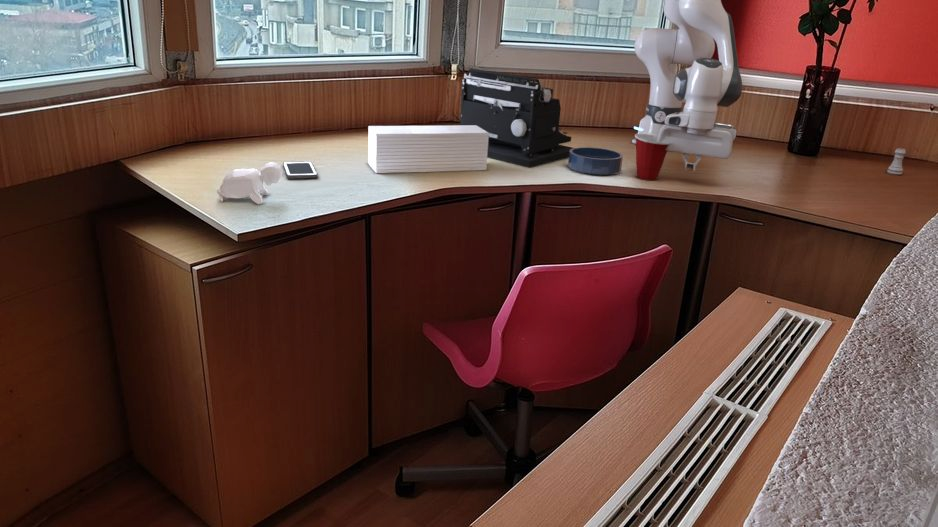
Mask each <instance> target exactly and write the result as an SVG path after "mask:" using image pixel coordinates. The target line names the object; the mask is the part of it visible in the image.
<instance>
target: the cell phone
mask: <svg viewBox="0 0 938 527" xmlns="http://www.w3.org/2000/svg"><path fill="white" fill-rule="evenodd" d="M282 166H283V169H284V170H283V171H284V172H285V175H286V178H287V179H292V180H293V179H294V180H295V179H316V178H318V172H317V169H316V167H315V166H314V164H313V162H312V161H310V160H305V161H301V160H300V161H283V162H282Z"/></svg>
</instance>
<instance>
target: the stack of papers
mask: <svg viewBox="0 0 938 527" xmlns="http://www.w3.org/2000/svg"><path fill="white" fill-rule="evenodd" d="M367 129H368V134H367V135H368V137H367V138H368V140H367V141H368V142H367V143H368V144H367V145H368V146H367V149H368V150H367V151H368V152H367V154H368V155H367V156H368V157H367V163H368V164H367V165H369V167H370V168H371V169H372V170H373V171H374V172H375V174H393V173H395V174H398V173H429V172H430V173H432V172H433V173H435V172H464V171H468V172H469V171H487V167H488V157H487V153H488V147H487V146H488V139H489V137H488V136H489V133H488V132H487V131H485V130H483V129H482V128H480V127H478V126H477V125H460V124H459V125H458V124H457V125H455V124H454V125H450V124H449V125H368V127H367Z"/></svg>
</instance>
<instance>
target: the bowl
mask: <svg viewBox="0 0 938 527" xmlns="http://www.w3.org/2000/svg"><path fill="white" fill-rule="evenodd" d="M567 159H568V160H567V167H568V168H569V169H571V170H574V171H575V172H577V173H581V174H586V175H592V176H609V175H610V176H611V175H615V174H619V173H620V172H621V171H622V166H623V159H624V155H623V153H621V152H619V151H616V150H614V149H608V148H602V147H594V146H580V147H573V149H570V150H569V158H567Z"/></svg>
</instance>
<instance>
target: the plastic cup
mask: <svg viewBox="0 0 938 527" xmlns="http://www.w3.org/2000/svg"><path fill="white" fill-rule="evenodd" d="M634 139H636V144H635V165H636V166H635V167H636V177H637V179H640V180H644V181H656V180H658V177H659V176H660V172H661V170H662V167H663V164H664V161H665V158H666V155H667V153H668V151H666V148H667V147H668V145H670V143H659V142H657V139H658V136H656V135H650V134H638V133H635V134H634Z"/></svg>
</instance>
